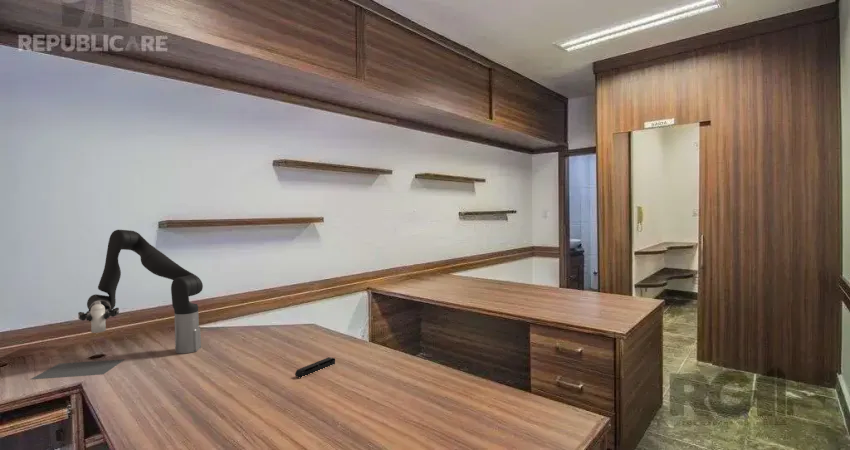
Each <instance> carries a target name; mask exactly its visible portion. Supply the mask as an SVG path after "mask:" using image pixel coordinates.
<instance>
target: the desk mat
mask: <svg viewBox="0 0 850 450" xmlns="http://www.w3.org/2000/svg"><path fill="white" fill-rule="evenodd" d="M125 360H126V358H125V359H124V358H123V359H121V358H120V359H107V360H92V361H79V362H77V361H75V362H61V363H60V362H59V363H57V364H56V365H53V366H52V367H51V368H48V369H47V370H45V371H42V372H41V373H39V374H37V375H35V376H33V377H32V378H30V379H29V380H43V379H44V380H45V379H56V378H57V379H58V378H71V377H73V378H74V377H85V376H86V377H87V376H88V377H89V376H99V375H100V376H101V375H105V374H106V373H108V372H109V371H110V370H112V369H113V368H116V366H118V365H119V364H120V363H123V362H125Z"/></svg>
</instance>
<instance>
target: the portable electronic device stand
mask: <svg viewBox="0 0 850 450" xmlns="http://www.w3.org/2000/svg"><path fill="white" fill-rule="evenodd" d="M332 364H334V365H335V364H336V358H334V357H330V356H328V357H326V358H323V359H321V360H318V361H317V362H316V361H315V362H313V363H309V364H308V365H305V366H303V367H301V368H298V369H297V370H296V371H295V373H294V375H295V377H296V376H298V377H297V378H299V377H302V376H305V375H307V376H309V375H308V374H310V373H312V374H314V373H313V372H315V371H317V372H319V371H318V370H320V369H322V370H324V369H326V368H325V367H327V368H329V367H331V366H330V365H332ZM328 366H329V367H328ZM332 366H333V365H332ZM323 368H324V369H323ZM320 371H321V370H320ZM315 373H316V372H315ZM310 375H311V374H310ZM305 377H306V376H305Z"/></svg>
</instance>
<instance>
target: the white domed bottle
mask: <svg viewBox="0 0 850 450" xmlns="http://www.w3.org/2000/svg"><path fill="white" fill-rule="evenodd" d="M106 324H107V323H106V319H105V307H104V305H102V304H101V301H95V305H93V306H92V307H91V321H90V327H91V333H92V334H98V333H103V332H105V331H107V327H106Z"/></svg>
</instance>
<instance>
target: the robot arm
mask: <svg viewBox="0 0 850 450" xmlns="http://www.w3.org/2000/svg"><path fill="white" fill-rule="evenodd" d="M107 244H108V245H107V249H106V257H105V263H104V267H103V271H102V274H101V277H100V279H99V283H98V286H97V289H98V290H99V291H101V292H103V293H106V294H107V295H103V294H102V295H101V294H97V293H96V294H92V295H91V296H89V298H88V299H87V302H86V306H87V309H88V311H86V312H82V311H79V312H78V320H80V321H86V322H91V307H92V306H93V305H95V301H101V304H102V305H104V307H105V320H108V319H109V318H110V317H111V318H114V317H116V316H117V315H119V313H120V308H119V307H116V303H117V302H116V300H117V299H116V292H117V288H118V285H119V282H120V279H121V276H122V275H121V273H122V272H121V267H120V264H119V263H120V262H119V256H120V253H121V250H126V251H132V252H134V253H135V254H137V255H139V257H140V262H141V265H142V266H143V267H144V268H145V269H146V270H148V272H150V273H152V274H153V275H156V276H158V277H161V278H165V279H169V280H172V282H171V286H170V294H171V304H172V308H173V313H174V345H175V346H174V347H175V353H176V354H190V353H194V352H195V353H196V352H198V351H199V350H200V349H201V348H202V345H201V344H202V343H201V341H202V340H201V339H202V338H201V336H202V335H201V326H199V322H200V321H199V305H198V304H197V303H192V302H190V297H192V296H195V295H198V294H200V293H201V292H202V291H203V288H204V285H203V282H202V280H201V278H200V277H198V275H196V274H194V273H193V272H191V271H189V270H187V269H186V268H184V267H182V266H181V265H179V264H178V263H176V262H175V261H173V260H172V259H171V258H170V257H168V256H167V255H165V253H163V252H162V251H160V250H159V249H157V248H156V247H155V246H154V245H152V244H151V243H149V242H148V241H147V240H146V239H145V238H144V237H143V236H142V235H141V233H139V232H137V231H134V230H131V229H130V230H127V229H116V230H114V231H112V232H111V234H110V236H109V238H108V243H107ZM115 307H116V308H115Z"/></svg>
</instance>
